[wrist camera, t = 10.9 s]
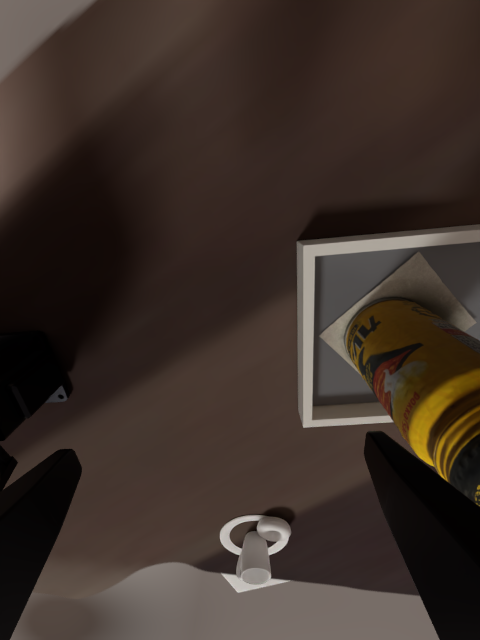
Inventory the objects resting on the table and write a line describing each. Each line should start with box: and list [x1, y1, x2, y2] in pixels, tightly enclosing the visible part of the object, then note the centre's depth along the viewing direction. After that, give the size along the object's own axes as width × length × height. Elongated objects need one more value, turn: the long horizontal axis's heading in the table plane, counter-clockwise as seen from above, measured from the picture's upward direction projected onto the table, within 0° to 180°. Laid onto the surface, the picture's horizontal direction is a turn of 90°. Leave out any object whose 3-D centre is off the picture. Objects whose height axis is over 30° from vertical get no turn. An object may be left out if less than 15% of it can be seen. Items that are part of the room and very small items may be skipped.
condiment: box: [320, 252, 480, 506], centre depth 15 cm, size 7×8×12 cm
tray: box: [297, 224, 480, 428], centre depth 20 cm, size 14×14×2 cm
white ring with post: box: [220, 515, 291, 593], centre depth 30 cm, size 9×8×4 cm
